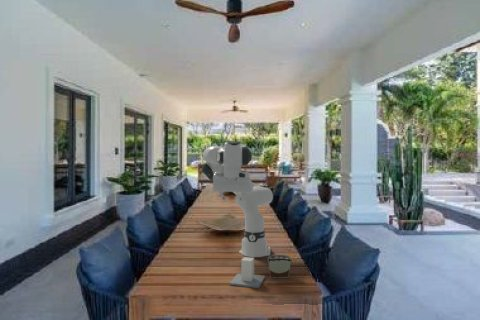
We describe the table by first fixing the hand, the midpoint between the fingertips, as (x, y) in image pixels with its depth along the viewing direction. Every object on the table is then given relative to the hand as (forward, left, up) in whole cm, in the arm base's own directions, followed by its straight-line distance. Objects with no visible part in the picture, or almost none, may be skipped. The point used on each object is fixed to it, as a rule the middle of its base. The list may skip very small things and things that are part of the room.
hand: (232, 200), depth 211 cm
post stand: (+11, +11, -37) cm, 40 cm away
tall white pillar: (+11, +11, -36) cm, 39 cm away
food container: (-1, +24, -37) cm, 44 cm away
